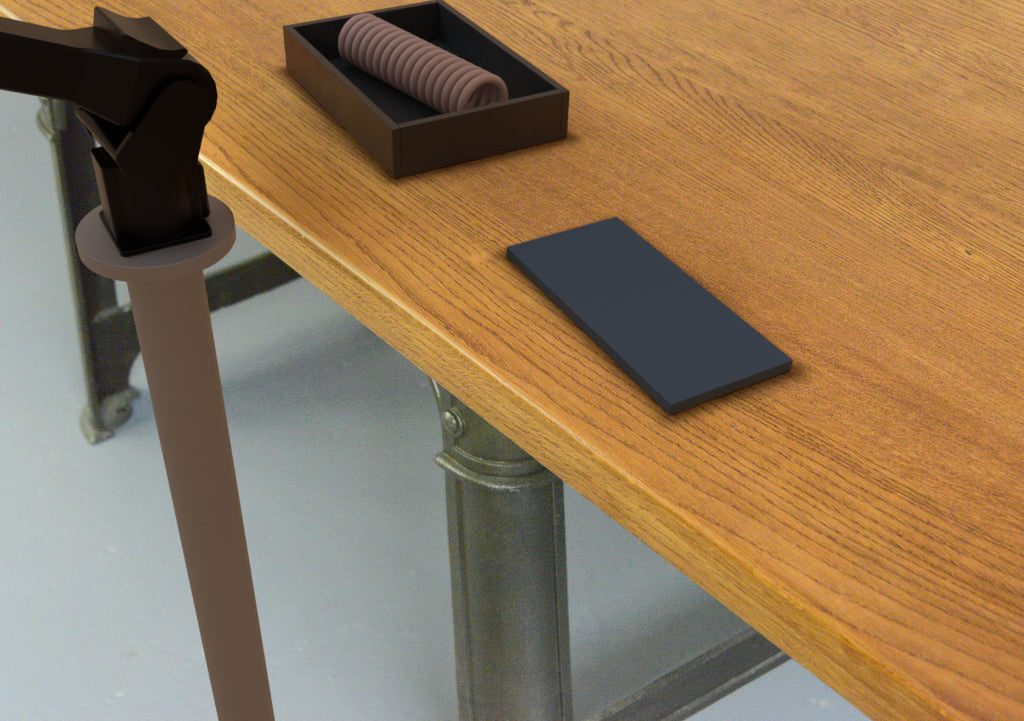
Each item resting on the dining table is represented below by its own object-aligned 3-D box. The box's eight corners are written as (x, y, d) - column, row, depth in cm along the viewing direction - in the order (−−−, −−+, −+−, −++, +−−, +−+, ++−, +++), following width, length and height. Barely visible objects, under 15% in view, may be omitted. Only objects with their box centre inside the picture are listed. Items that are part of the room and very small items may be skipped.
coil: (330, 20, 98) (466, 90, 88) (374, 3, 100) (511, 68, 90) (338, 70, 101) (470, 143, 91) (380, 52, 104) (514, 121, 93)
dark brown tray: (393, 179, 87) (391, 129, 84) (286, 70, 102) (282, 25, 99) (567, 138, 93) (570, 90, 90) (441, 41, 108) (441, -2, 106)
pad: (669, 415, 66) (671, 404, 65) (505, 256, 78) (506, 246, 78) (791, 370, 69) (793, 359, 69) (615, 225, 82) (616, 216, 82)
